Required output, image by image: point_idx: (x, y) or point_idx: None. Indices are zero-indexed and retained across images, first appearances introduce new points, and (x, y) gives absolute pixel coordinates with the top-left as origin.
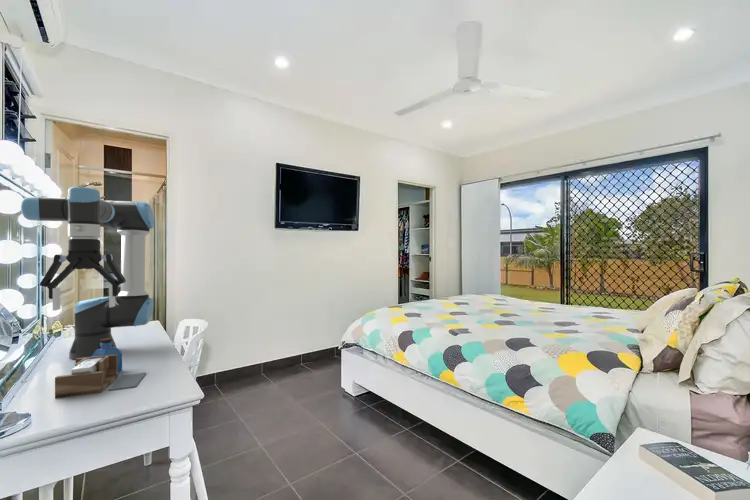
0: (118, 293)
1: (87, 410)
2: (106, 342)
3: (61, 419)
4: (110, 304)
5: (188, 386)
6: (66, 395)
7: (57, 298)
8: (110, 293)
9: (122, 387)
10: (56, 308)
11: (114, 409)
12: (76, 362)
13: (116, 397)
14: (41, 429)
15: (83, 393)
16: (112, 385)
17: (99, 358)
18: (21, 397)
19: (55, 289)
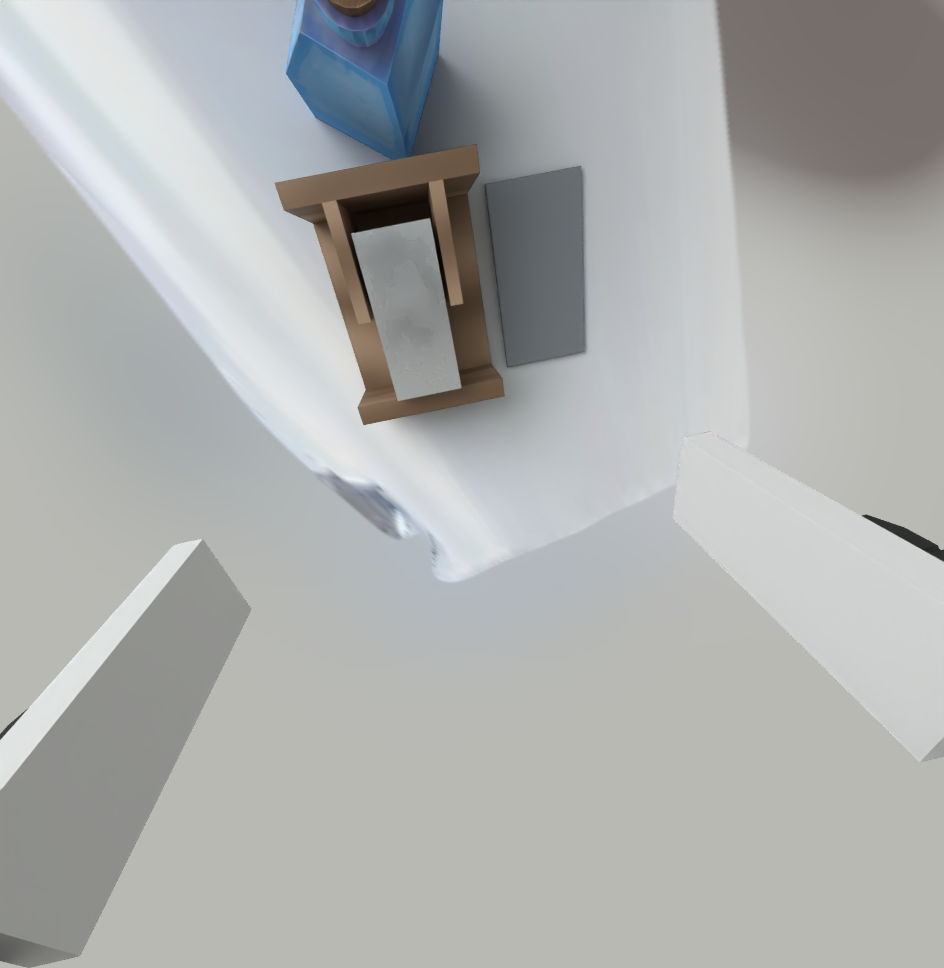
0: (905, 540)
1: (517, 493)
2: (368, 11)
3: (485, 527)
4: (702, 534)
5: (735, 378)
6: None
7: (168, 708)
8: (812, 635)
9: (546, 357)
10: (237, 614)
11: (576, 497)
12: (294, 212)
13: (553, 425)
14: (473, 560)
15: None
16: (503, 327)
17: (419, 232)
18: (240, 368)
19: (95, 922)
